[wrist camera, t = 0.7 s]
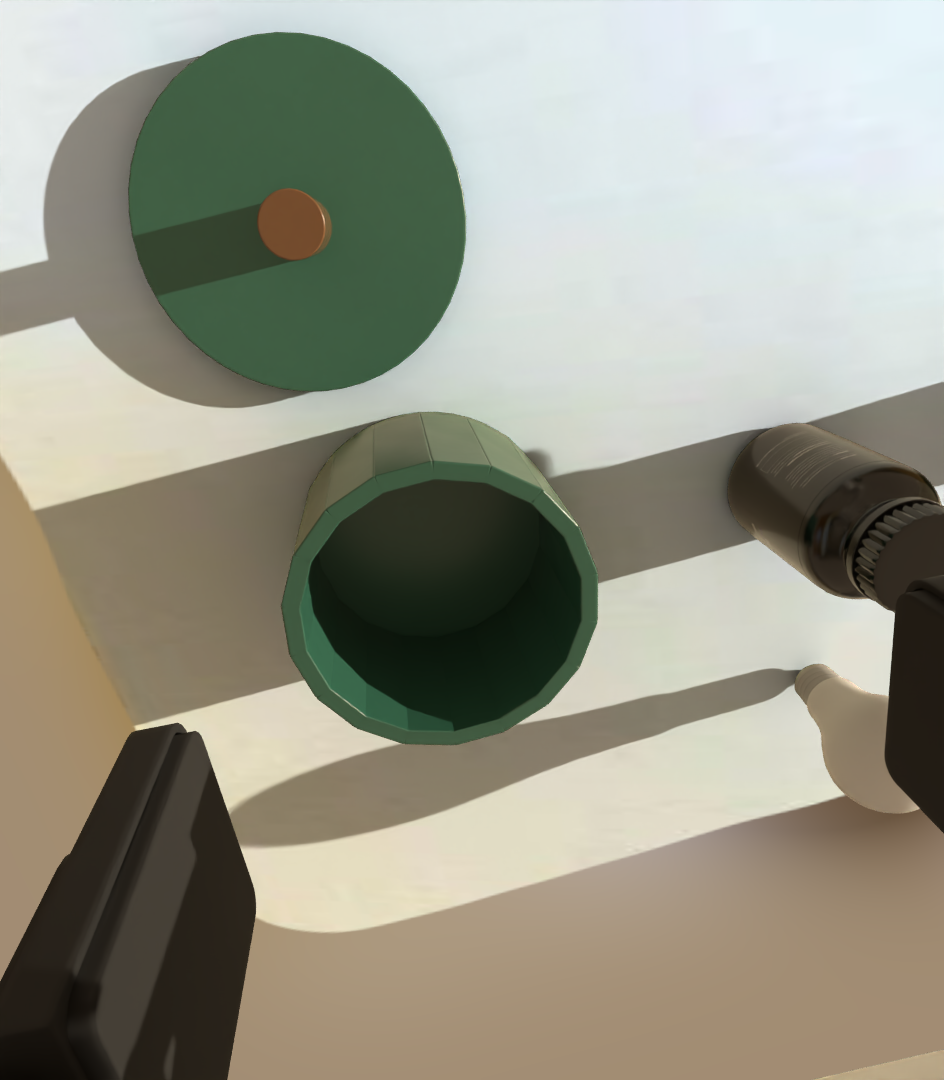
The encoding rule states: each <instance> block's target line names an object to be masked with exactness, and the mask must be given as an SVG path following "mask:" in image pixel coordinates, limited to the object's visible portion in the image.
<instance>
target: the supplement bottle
mask: <svg viewBox="0 0 944 1080" xmlns="http://www.w3.org/2000/svg"><path fill="white" fill-rule="evenodd" d="M728 501H729V505H730V508H731V511H732V513H733V515H734V517H735V519H736V520H737V521H738V523H739V524H740V525H741V526H742V527H743V528H744V529H745V530H747V531H748V532H749V533H750V534H751V535H753V536H754V537H755V538H756V539H758V540H759V541H760V542H761V543H763V544H764V545H765V546H767V547H768V548H769V549H770V550H772V551H773V552H774V553H776V554H777V555H778V556H779V557H781V558H782V559H783V560H784V561H786V562H787V563H788V564H790V565H791V566H792V567H793V568H795V569H796V570H797V571H799V572H800V573H801V574H802V575H804V576H805V577H806V578H808V579H809V580H810V581H811V582H813V583H814V584H815V585H817V586H818V587H820V588H821V589H823V590H824V591H826V592H828V593H830V594H832V595H835V596H838V597H842V598H847V599H871V600H873V601H876V602H877V603H878V604H880V605H881V606H883V607H884V608H885V609H887V610H891V611H893V612H894V613H895V609H896V602H897V599H898V598H899V596H900V595H902V594H904V593H905V592H906V589H907V587H908V585H909V584H910V583H911V582H913V581H915V580H920V579H925V578H930V577H935V576H940V575H944V506H942V505H941V501H940V498H939V496H938V494H937V492H936V490H935V488H934V486H933V485H932V484H931V482H930V481H929V480H928V479H927V478H926V477H925V476H924V475H922V474H921V473H920V472H918V471H917V470H915V469H913V468H911V467H909V466H907V465H905V464H903V463H901V462H898V461H896V460H894V459H891V458H889V457H887V456H884V455H882V454H880V453H877V452H875V451H873V450H870V449H868V448H866V447H864V446H861V445H859V444H857V443H854V442H852V441H850V440H847V439H845V438H843V437H840V436H838V435H836V434H833V433H831V432H829V431H826V430H824V429H821V428H819V427H816V426H813V425H809V424H804V423H790V424H784V425H780V426H777V427H774V428H772V429H769V430H767V431H765V432H764V433H762V434H760V435H759V436H757V437H756V438H755V439H754V440H752V441H751V442H750V443H749V444H748V445H747V446H746V447H745V448H744V450H743V451H742V452H741V454H740V455H739V456H738V458H737V460H736V462H735V463H734V466H733V468H732V470H731V474H730V477H729V482H728Z"/></svg>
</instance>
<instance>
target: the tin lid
mask: <svg viewBox="0 0 944 1080" xmlns="http://www.w3.org/2000/svg"><path fill="white" fill-rule="evenodd" d="M128 196H129V217H130V224H131V230H132V237H133V241H134V244H135V248H136V252H137V255H138V259H139V262H140V264H141V267H142V269H143V271H144V274H145V276H146V279H147V281H148V283H149V285H150V287H151V289H152V291H153V292H154V294H155V296H156V298H157V300H158V301H159V303H160V305H161V306H162V307H163V309H164V310H165V312H166V313H167V314H168V316H169V317H170V318H171V320H172V321H173V323H174V324H175V325H176V326H177V327H178V328H179V329H180V330H181V331H182V332H183V334H184V335H185V336H186V337H187V338H188V339H189V340H190V341H191V342H192V343H194V344H195V345H196V346H197V347H198V348H199V349H200V350H202V351H203V352H204V353H205V354H206V355H208V356H209V357H211V358H212V359H214V360H215V361H217V362H218V363H219V364H221V365H222V366H224V367H226V368H228V369H230V370H231V371H233V372H235V373H237V374H239V375H241V376H243V377H245V378H248V379H251V380H253V381H256V382H259V383H261V384H264V385H269V386H273V387H277V388H281V389H287V390H296V391H329V390H335V389H342V388H347V387H350V386H354V385H357V384H361V383H364V382H366V381H368V380H371V379H373V378H375V377H378V376H380V375H382V374H384V373H385V372H387V371H389V370H390V369H392V368H394V367H395V366H397V365H399V364H400V363H401V362H402V361H403V360H405V359H406V358H407V357H408V356H410V355H411V354H412V353H413V352H415V350H416V349H417V348H418V347H419V346H420V345H421V344H422V343H423V342H424V341H425V340H426V339H427V338H428V337H429V335H430V334H431V333H432V331H433V330H434V328H435V327H436V326H437V324H438V323H439V322H440V320H441V318H442V316H443V314H444V313H445V311H446V309H447V307H448V305H449V303H450V301H451V299H452V296H453V294H454V291H455V289H456V286H457V283H458V280H459V276H460V272H461V268H462V264H463V259H464V251H465V243H466V212H465V203H464V195H463V190H462V186H461V181H460V177H459V173H458V169H457V167H456V164H455V161H454V159H453V156H452V153H451V150H450V148H449V146H448V144H447V142H446V140H445V138H444V136H443V134H442V132H441V130H440V128H439V126H438V125H437V123H436V122H435V120H434V119H433V117H432V116H431V114H430V113H429V111H428V110H427V108H426V107H425V106H424V104H423V103H422V102H421V101H420V100H419V99H418V97H417V96H416V95H415V94H414V93H413V92H412V91H411V89H410V88H409V87H408V86H407V85H406V84H405V83H403V82H402V81H401V80H400V79H399V78H398V77H397V76H396V75H394V74H393V73H392V72H391V71H390V70H389V69H387V68H386V67H384V66H383V65H381V64H380V63H378V62H377V61H375V60H374V59H372V58H371V57H370V56H368V55H366V54H364V53H362V52H360V51H358V50H356V49H354V48H352V47H350V46H348V45H345V44H342V43H339V42H336V41H333V40H330V39H327V38H324V37H319V36H314V35H308V34H303V33H285V32H274V33H265V34H257V35H251V36H247V37H244V38H240V39H237V40H233V41H230V42H228V43H225V44H223V45H221V46H219V47H217V48H215V49H212V50H210V51H208V52H207V53H205V54H204V55H202V56H201V57H199V58H198V59H196V60H195V61H193V62H192V63H190V64H189V65H188V66H187V67H186V68H185V69H184V70H182V71H181V72H180V73H179V74H178V75H177V76H176V77H175V78H174V79H173V80H172V81H171V82H170V83H169V85H168V86H167V87H166V88H165V90H164V91H163V92H162V93H161V95H160V96H159V97H158V98H157V100H156V102H155V103H154V105H153V107H152V109H151V110H150V112H149V114H148V116H147V117H146V119H145V122H144V124H143V127H142V129H141V132H140V134H139V137H138V139H137V142H136V146H135V150H134V154H133V158H132V162H131V168H130V178H129V187H128Z"/></svg>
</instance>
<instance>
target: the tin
mask: <svg viewBox="0 0 944 1080" xmlns="http://www.w3.org/2000/svg"><path fill="white" fill-rule="evenodd" d="M281 606H282V607H281V609H282V615H283V621H284V627H285V632H286V638H287V644H288V650H289V654H290V657H291V659H292V660H293V662H294V663H295V665H296V667H297V668H298V670H299V671H300V673H301V675H302V676H303V678H304V679H305V681H306V683H307V684H308V686H309V687H310V689H311V691H312V692H313V694H314V695H315V697H317V699H318V700H319V701H321V702H322V703H323V704H325V705H326V706H327V707H329V708H330V709H331V710H333V711H334V712H335V713H337V714H338V715H339V716H341V717H342V718H343V719H345V720H346V721H347V722H349V723H350V724H351V725H352V726H354V727H356V728H357V729H360V730H363V731H366V732H369V733H372V734H375V735H378V736H381V737H384V738H387V739H390V740H393V741H396V742H399V743H402V744H423V745H458V744H462V743H466V742H469V741H473V740H477V739H480V738H484V737H488V736H491V735H495V734H499V733H502V732H504V731H506V730H508V729H509V728H511V727H513V726H514V725H516V724H517V723H519V722H521V721H522V720H524V719H525V718H527V717H529V716H530V715H532V714H534V713H535V712H537V711H538V710H540V709H542V708H543V707H545V706H546V705H547V704H549V703H550V702H551V701H552V699H553V698H554V697H555V696H556V695H557V694H558V692H559V691H560V690H561V689H562V688H563V687H564V685H565V684H566V683H567V682H568V681H569V679H570V678H571V677H572V676H573V675H574V674H575V672H576V671H577V670H578V669H579V667H580V666H581V663H582V660H583V658H584V655H585V653H586V650H587V648H588V645H589V643H590V640H591V637H592V635H593V632H594V630H595V627H596V625H597V620H598V574H597V569H596V566H595V564H594V561H593V559H592V557H591V554H590V552H589V549H588V547H587V544H586V542H585V539H584V537H583V534H582V532H581V529H580V527H579V526H578V524H577V523H576V521H575V520H574V519H573V517H572V516H571V514H570V513H569V511H568V510H567V509H566V507H565V506H564V504H563V503H562V502H561V500H560V499H559V497H558V496H557V495H556V493H555V492H554V490H553V489H552V487H551V486H550V485H549V483H548V482H547V480H546V479H545V478H544V476H543V475H542V473H541V472H540V471H539V469H538V468H537V466H536V465H535V464H534V463H533V462H532V461H531V460H530V459H529V458H528V457H527V456H526V455H525V453H524V452H523V451H522V450H521V449H520V448H519V447H518V446H517V445H516V444H515V443H514V442H513V441H512V440H511V439H510V438H509V437H507V436H506V435H504V434H502V433H501V432H499V431H497V430H495V429H494V428H492V427H490V426H488V425H486V424H484V423H482V422H479V421H477V420H474V419H472V418H468V417H465V416H460V415H456V414H451V413H442V412H417V413H411V414H404V415H399V416H396V417H392V418H389V419H385V420H383V421H381V422H378V423H376V424H374V425H372V426H369V427H368V428H366V429H364V430H363V431H361V432H359V433H358V434H356V435H354V436H353V437H352V438H351V439H349V440H348V441H347V442H346V443H344V444H343V445H342V446H341V447H340V448H339V449H337V450H336V452H334V454H333V455H332V456H331V457H330V458H329V460H328V461H327V462H326V464H325V465H324V466H323V468H322V469H321V471H320V472H319V474H318V476H317V478H316V480H315V481H314V483H313V484H312V485H311V487H310V489H309V492H308V496H307V500H306V504H305V508H304V512H303V516H302V520H301V524H300V528H299V532H298V536H297V540H296V544H295V548H294V552H293V556H292V560H291V565H290V569H289V573H288V578H287V582H286V586H285V591H284V595H283V599H282V604H281Z"/></svg>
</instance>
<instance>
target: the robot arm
mask: <svg viewBox="0 0 944 1080" xmlns="http://www.w3.org/2000/svg"><path fill="white" fill-rule="evenodd" d="M884 758H885V763H886V767H887V770H888V772H889V774H890V776H891V778H892V779H893V781H894V782H895V783H896V784H897V785H898V786H899V787H900V788H901V789H902V791H903V792H904V793H905V794H906V795H907V796H908V797H909V798H910V799H911V800H912V801H913V802H914V803H915V804H916V805H917V806H918V807H919V808H920V809H921V810H922V811H923V812H924V813H925V814H926V815H927V816H928V817H929V818H930V819H931V821H932V822H933V823H934V824H935V825H936V826H937V827H938V828H939V829H940V830H941V831H942V832H943V833H944V575H940V576H935V577H930V578H925V579H920V580H915V581H913V582H911V583H910V584H909V585H908V587H907V589H906V592H905V593H904V594H902V595H900V596H899V598H898V599H897V602H896V609H895V622H894V635H893V648H892V661H891V673H890V686H889V699H888V712H887V725H886V738H885V751H884ZM255 915H256V899H255V891H254V887H253V883H252V881H251V878H250V875H249V872H248V869H247V866H246V863H245V860H244V857H243V854H242V852H241V849H240V846H239V843H238V840H237V837H236V834H235V831H234V828H233V826H232V823H231V820H230V817H229V814H228V811H227V808H226V805H225V802H224V799H223V797H222V794H221V791H220V788H219V785H218V782H217V779H216V776H215V773H214V771H213V768H212V765H211V762H210V759H209V756H208V753H207V750H206V747H205V744H204V742H203V739H202V737H201V735H200V734H199V733H198V732H197V731H193V732H188V733H187V732H186V730H185V728H184V727H183V726H182V725H181V724H179V723H174V724H169V725H164V726H159V727H154V728H149V729H143V730H138V731H134V732H132V733H131V734H130V735H129V737H128V738H127V740H126V742H125V744H124V746H123V748H122V750H121V753H120V754H119V756H118V758H117V760H116V762H115V764H114V766H113V768H112V771H111V773H110V774H109V777H108V779H107V781H106V783H105V785H104V787H103V789H102V791H101V793H100V795H99V797H98V799H97V801H96V803H95V805H94V807H93V809H92V811H91V813H90V815H89V817H88V819H87V821H86V823H85V825H84V827H83V829H82V831H81V833H80V835H79V837H78V839H77V842H76V843H75V845H74V847H73V849H72V851H71V853H70V854H69V855H67V856H66V857H65V858H64V859H63V861H62V862H61V864H60V865H59V867H58V868H57V870H56V872H55V874H54V876H53V878H52V880H51V882H50V884H49V886H48V888H47V890H46V892H45V894H44V896H43V898H42V900H41V902H40V904H39V906H38V908H37V910H36V912H35V914H34V916H33V918H32V920H31V922H30V924H29V926H28V928H27V930H26V932H25V934H24V936H23V938H22V940H21V942H20V944H19V946H18V948H17V950H16V952H15V954H14V955H13V957H12V959H11V961H10V963H9V965H8V967H7V969H6V971H5V973H4V975H3V977H2V979H1V981H0V1080H227V1078H228V1072H229V1066H230V1060H231V1055H232V1049H233V1043H234V1037H235V1032H236V1026H237V1020H238V1014H239V1009H240V1003H241V997H242V991H243V985H244V980H245V974H246V968H247V963H248V957H249V950H250V945H251V940H252V933H253V927H254V922H255ZM814 1080H944V1050H939V1051H935V1052H931V1053H926V1054H922V1055H918V1056H913V1057H909V1058H905V1059H901V1060H896V1061H892V1062H888V1063H883V1064H879V1065H874V1066H870V1067H866V1068H861V1069H857V1070H853V1071H849V1072H844V1073H840V1074H835V1075H831V1076H827V1077H823V1078H818V1079H814Z"/></svg>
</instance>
